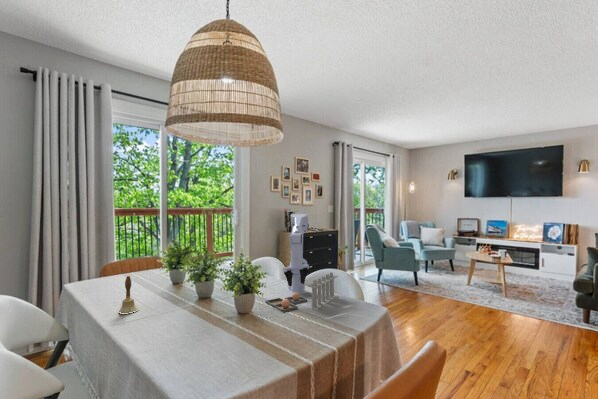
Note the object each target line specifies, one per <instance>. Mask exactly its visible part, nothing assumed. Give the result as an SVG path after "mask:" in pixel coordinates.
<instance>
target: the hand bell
mask: <svg viewBox="0 0 598 399" xmlns="http://www.w3.org/2000/svg"><path fill="white" fill-rule="evenodd" d="M124 287H125V290H126V292H125V294H126V295H125V298H124V299H123V300H122V304H121V307H120V309H119V310H118V311H119V312H121V313H129V312H133V311H136V310H137V309H139V308H138V307H137V306H136V304H135V300H134V298H133V297H131V288H132V279H131V276H130V275H126V278H125V281H124Z"/></svg>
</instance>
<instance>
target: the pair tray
mask: <svg viewBox="0 0 598 399" xmlns="http://www.w3.org/2000/svg"><path fill="white" fill-rule="evenodd" d="M283 300H284V298H281V297H276V298H272V299H268V300H265V303H266V304H267V305H268V306H271V307H272V308H274V309H276V310H278V311H280V312H282V313H285V312H286V313H288V312H290V311H294V310H298V308H299V307H298V306H297V304H292V303H290V306H289V307H288V308H283V307H282V305H281V302H282V301H283Z"/></svg>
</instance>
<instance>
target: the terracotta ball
mask: <svg viewBox="0 0 598 399" xmlns="http://www.w3.org/2000/svg"><path fill="white" fill-rule="evenodd" d="M300 296H301V294H299V293H297V292H295V293H292V294H291V297H292V299H293V300H294V301H298V300H299V299H300Z"/></svg>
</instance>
